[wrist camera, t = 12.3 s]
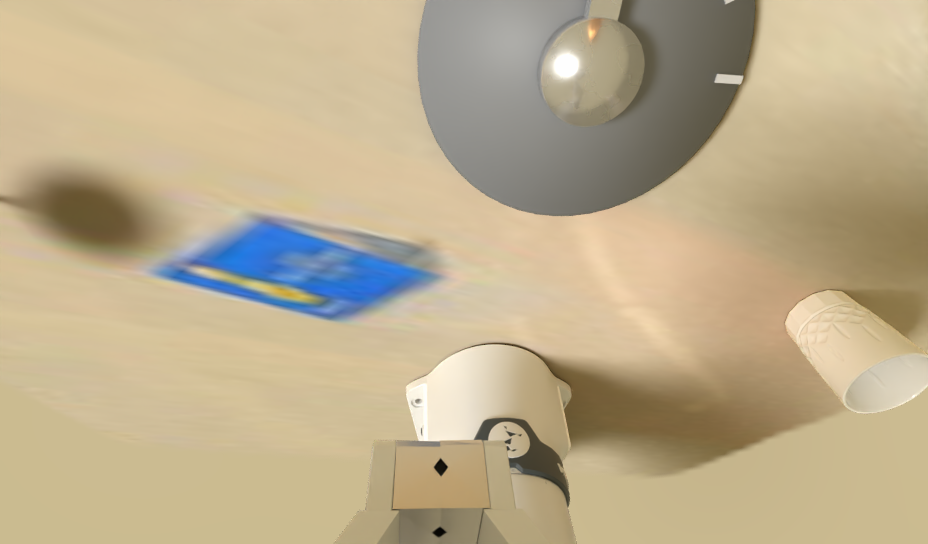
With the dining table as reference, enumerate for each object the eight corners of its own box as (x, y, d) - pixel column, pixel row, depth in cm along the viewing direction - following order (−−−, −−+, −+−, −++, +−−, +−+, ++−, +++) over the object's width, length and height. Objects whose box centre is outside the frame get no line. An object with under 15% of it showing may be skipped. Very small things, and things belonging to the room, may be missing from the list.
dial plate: (681, 215, 44) (687, 222, 43) (414, 203, 42) (413, 210, 41) (807, -126, 30) (821, -128, 29) (422, -170, 28) (422, -175, 27)
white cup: (839, 337, 54) (913, 409, 46) (769, 344, 54) (830, 418, 46) (867, 280, 50) (954, 349, 41) (791, 288, 50) (863, 358, 41)
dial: (620, 120, 37) (650, 150, 32) (530, 115, 36) (546, 145, 31) (679, -108, 29) (732, -117, 24) (565, -120, 29) (595, -132, 24)
